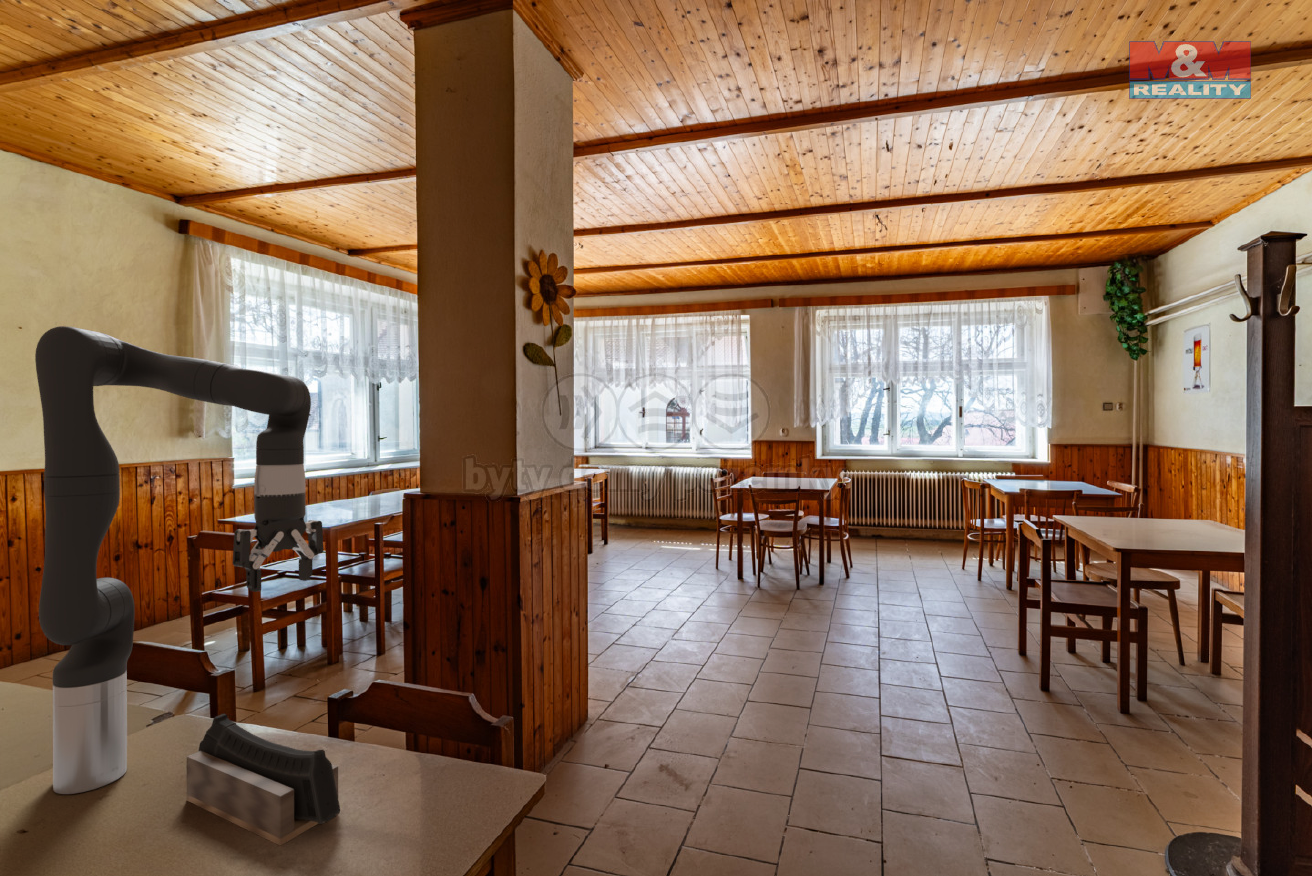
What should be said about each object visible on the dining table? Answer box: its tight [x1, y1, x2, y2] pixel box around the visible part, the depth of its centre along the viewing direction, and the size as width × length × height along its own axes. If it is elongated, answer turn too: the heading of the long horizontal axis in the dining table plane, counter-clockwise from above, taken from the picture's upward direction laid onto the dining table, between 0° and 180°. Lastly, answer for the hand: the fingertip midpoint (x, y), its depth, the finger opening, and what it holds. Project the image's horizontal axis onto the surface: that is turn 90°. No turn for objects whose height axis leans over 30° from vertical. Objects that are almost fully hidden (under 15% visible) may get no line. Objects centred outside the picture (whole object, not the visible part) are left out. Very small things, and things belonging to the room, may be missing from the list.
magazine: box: [197, 713, 341, 825], centre depth 97 cm, size 17×3×30 cm
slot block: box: [186, 738, 339, 847], centre depth 98 cm, size 24×9×7 cm, turn 63°
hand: (280, 585), depth 107 cm, fingers open, 8 cm apart
